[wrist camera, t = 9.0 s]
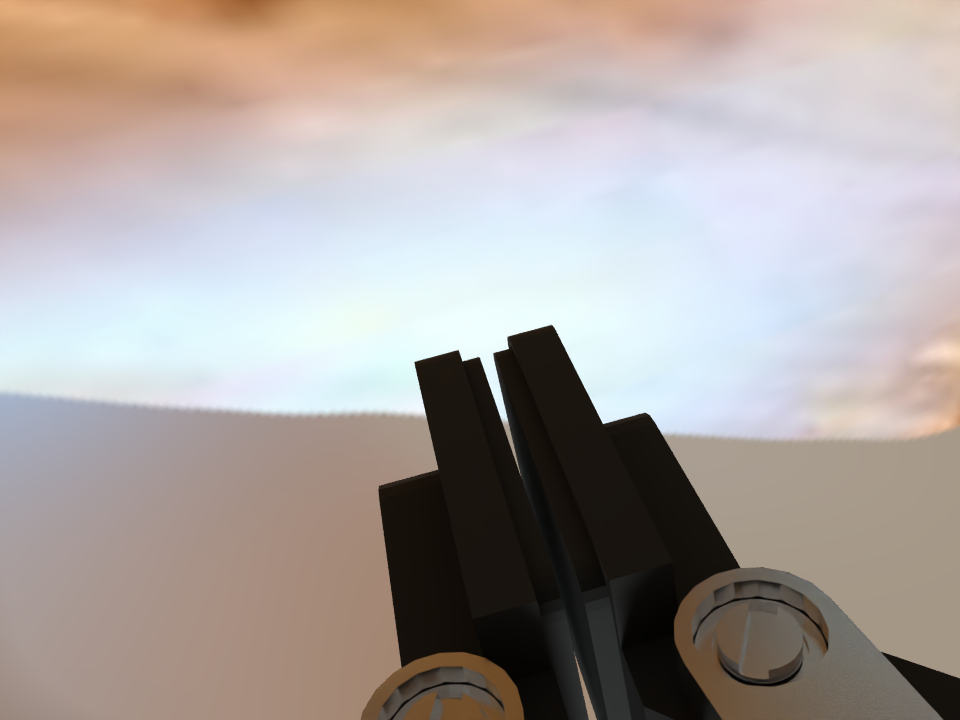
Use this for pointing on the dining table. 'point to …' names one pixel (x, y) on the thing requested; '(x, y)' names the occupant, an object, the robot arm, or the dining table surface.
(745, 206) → the dining table surface
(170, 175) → the dining table surface
